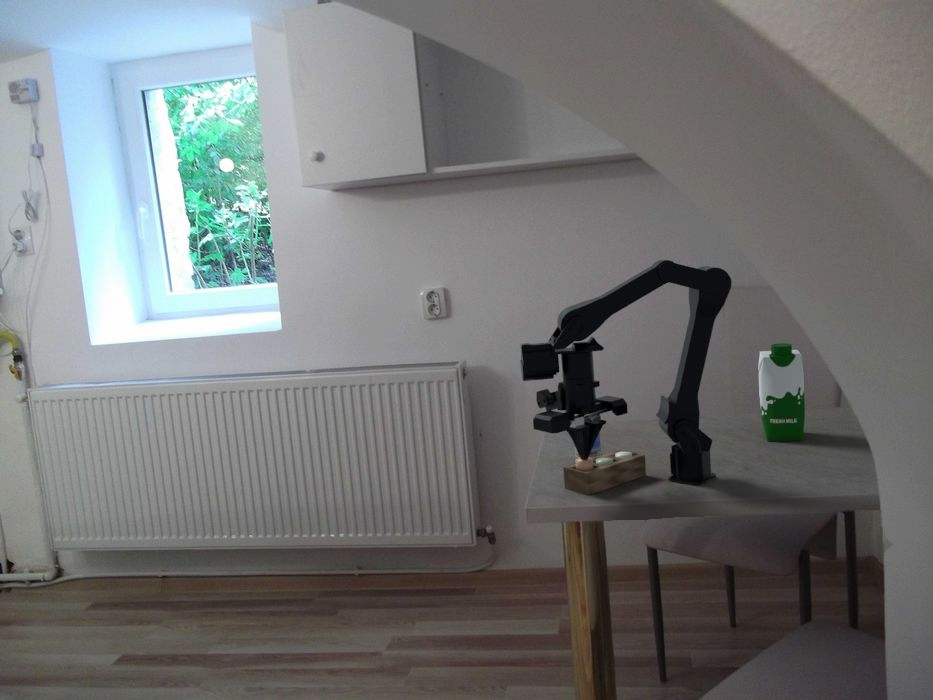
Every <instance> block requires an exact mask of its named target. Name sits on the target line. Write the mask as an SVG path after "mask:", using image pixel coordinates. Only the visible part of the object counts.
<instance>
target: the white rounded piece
mask: <svg viewBox="0 0 933 700" xmlns="http://www.w3.org/2000/svg"><path fill="white" fill-rule="evenodd" d="M631 452H632V451H630V452H618V453H616V454H615V457H618V458H622V459H625V458H628V457H631V456H632V453H631Z"/></svg>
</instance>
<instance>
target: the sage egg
mask: <svg viewBox="0 0 933 700" xmlns="http://www.w3.org/2000/svg"><path fill="white" fill-rule="evenodd" d="M596 463H598V464H601V465H607V464H610V463H613V459H612V458H599V459H596Z"/></svg>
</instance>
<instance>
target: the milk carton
mask: <svg viewBox="0 0 933 700" xmlns="http://www.w3.org/2000/svg"><path fill="white" fill-rule="evenodd" d="M757 364H758V367H757V369H758V390H759V391H758V392H759V394H758V395H759V412H760V414H759V415H760V417H761V424H762V429H763V433H764V435H765V438H766V440H767V442H786V441H787V442H789V441H793V442H794V441H795V442H796V441H804V431H805V419H806V418H805V417H806V413H805V412H806V411H805V409H806V406H805V376H804V359H803V355H802V354H801V352H800V350H797V349H793V347H792V344H791V343H784V342H783V343H773V344H771V345H770V350H763V351H761V350H759V358H758V363H757Z"/></svg>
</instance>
